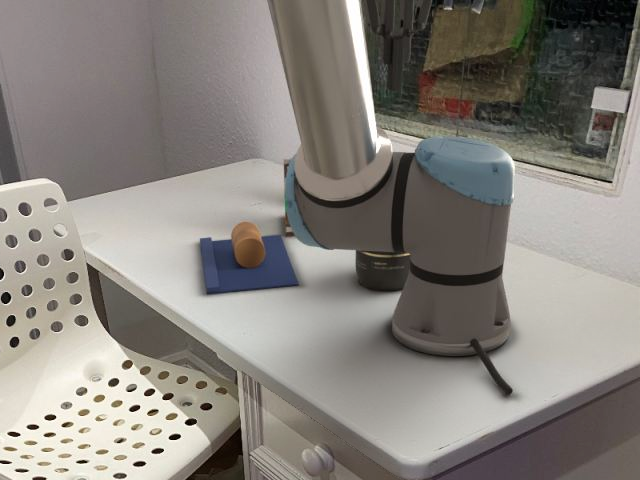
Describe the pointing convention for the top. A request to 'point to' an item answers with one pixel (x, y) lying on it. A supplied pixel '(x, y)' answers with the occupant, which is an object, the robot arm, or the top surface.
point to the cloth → (234, 277)
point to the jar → (382, 269)
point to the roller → (247, 244)
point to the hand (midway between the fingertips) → (394, 89)
